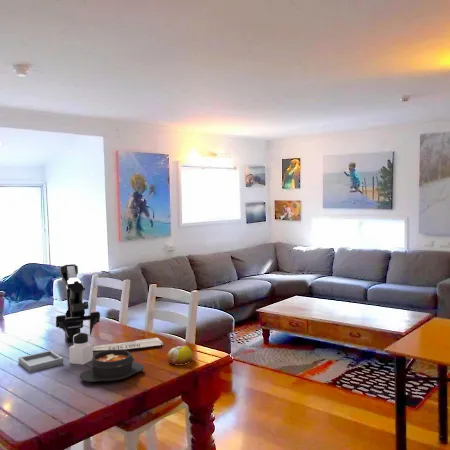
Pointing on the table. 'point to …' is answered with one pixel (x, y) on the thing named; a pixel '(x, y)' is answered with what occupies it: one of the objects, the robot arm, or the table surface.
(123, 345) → the newspaper
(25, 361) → the tray
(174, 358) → the fruit
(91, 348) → the medicine bottle
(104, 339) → the table surface
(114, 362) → the casserole
